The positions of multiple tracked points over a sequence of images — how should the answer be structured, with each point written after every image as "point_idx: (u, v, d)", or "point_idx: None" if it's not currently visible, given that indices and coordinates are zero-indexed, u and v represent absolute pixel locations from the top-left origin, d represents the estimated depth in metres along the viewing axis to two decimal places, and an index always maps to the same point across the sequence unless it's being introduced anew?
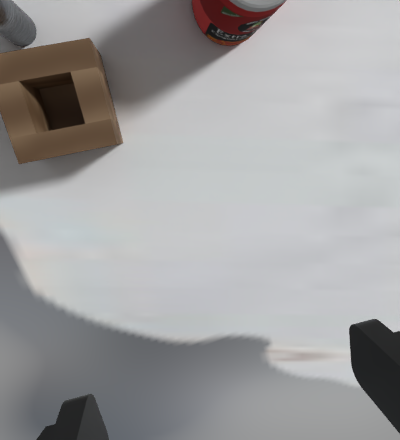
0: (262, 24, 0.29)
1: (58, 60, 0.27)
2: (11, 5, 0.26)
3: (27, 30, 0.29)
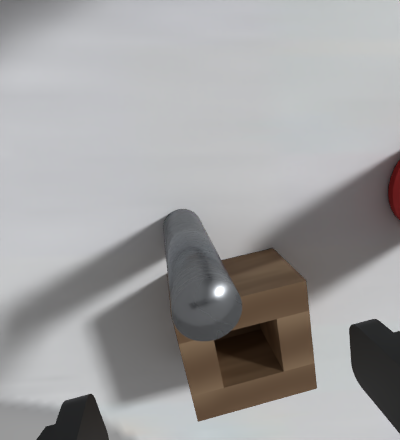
0: None
1: (265, 308, 0.21)
2: None
3: None
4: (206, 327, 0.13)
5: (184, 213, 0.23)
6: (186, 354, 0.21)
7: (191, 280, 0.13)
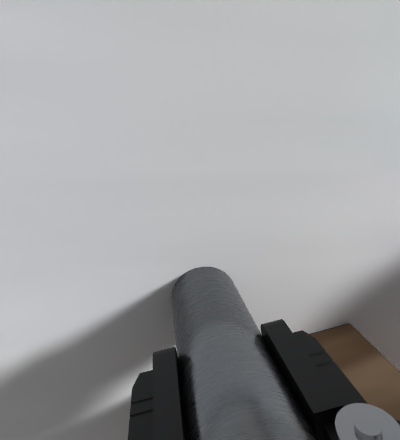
0: None
1: None
2: None
3: None
4: None
5: (210, 280, 0.13)
6: None
7: None
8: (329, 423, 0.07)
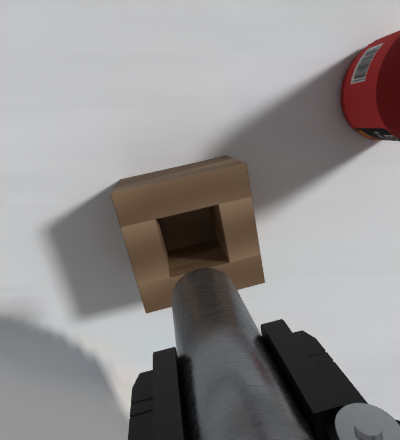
0: None
1: (206, 192, 0.21)
2: None
3: None
4: None
5: (210, 281, 0.13)
6: (128, 239, 0.21)
7: None
8: (329, 423, 0.07)
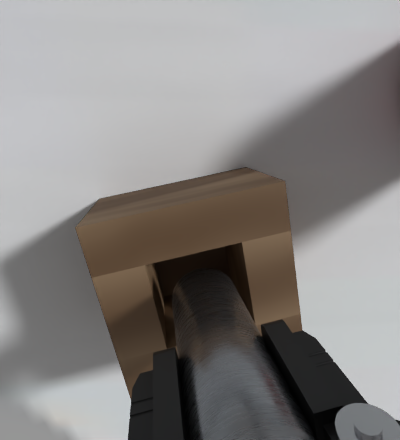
0: None
1: (223, 224, 0.14)
2: None
3: None
4: None
5: (210, 281, 0.13)
6: (104, 294, 0.14)
7: None
8: (329, 423, 0.07)
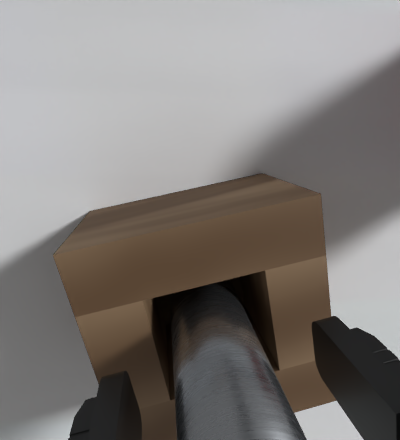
0: None
1: (242, 248, 0.11)
2: None
3: None
4: None
5: None
6: (92, 337, 0.11)
7: None
8: None
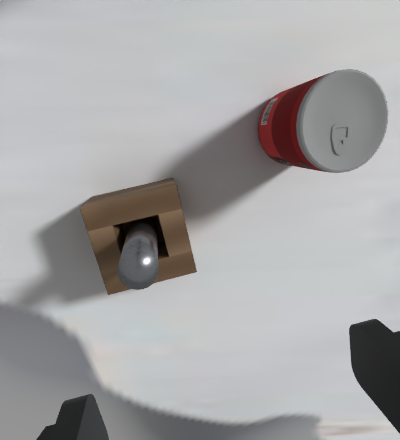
0: None
1: (148, 205, 0.29)
2: (156, 240, 0.30)
3: None
4: (138, 281, 0.23)
5: None
6: (93, 239, 0.29)
7: (128, 253, 0.23)
8: None
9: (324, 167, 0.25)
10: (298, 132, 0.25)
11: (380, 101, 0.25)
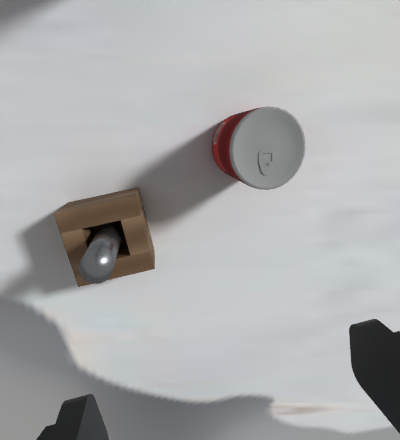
0: None
1: (112, 212, 0.35)
2: (119, 242, 0.35)
3: None
4: (96, 276, 0.29)
5: None
6: (65, 240, 0.35)
7: (87, 254, 0.29)
8: None
9: (252, 185, 0.31)
10: (230, 157, 0.30)
11: (298, 132, 0.30)
